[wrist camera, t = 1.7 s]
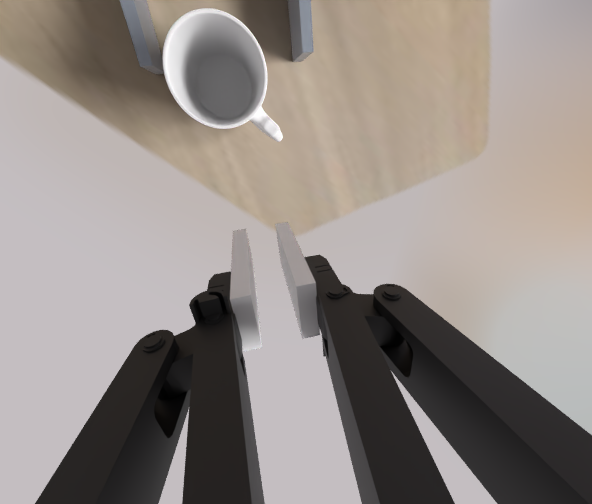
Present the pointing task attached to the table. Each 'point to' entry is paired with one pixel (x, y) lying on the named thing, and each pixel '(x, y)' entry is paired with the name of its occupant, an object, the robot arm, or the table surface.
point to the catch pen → (149, 48)
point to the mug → (217, 71)
